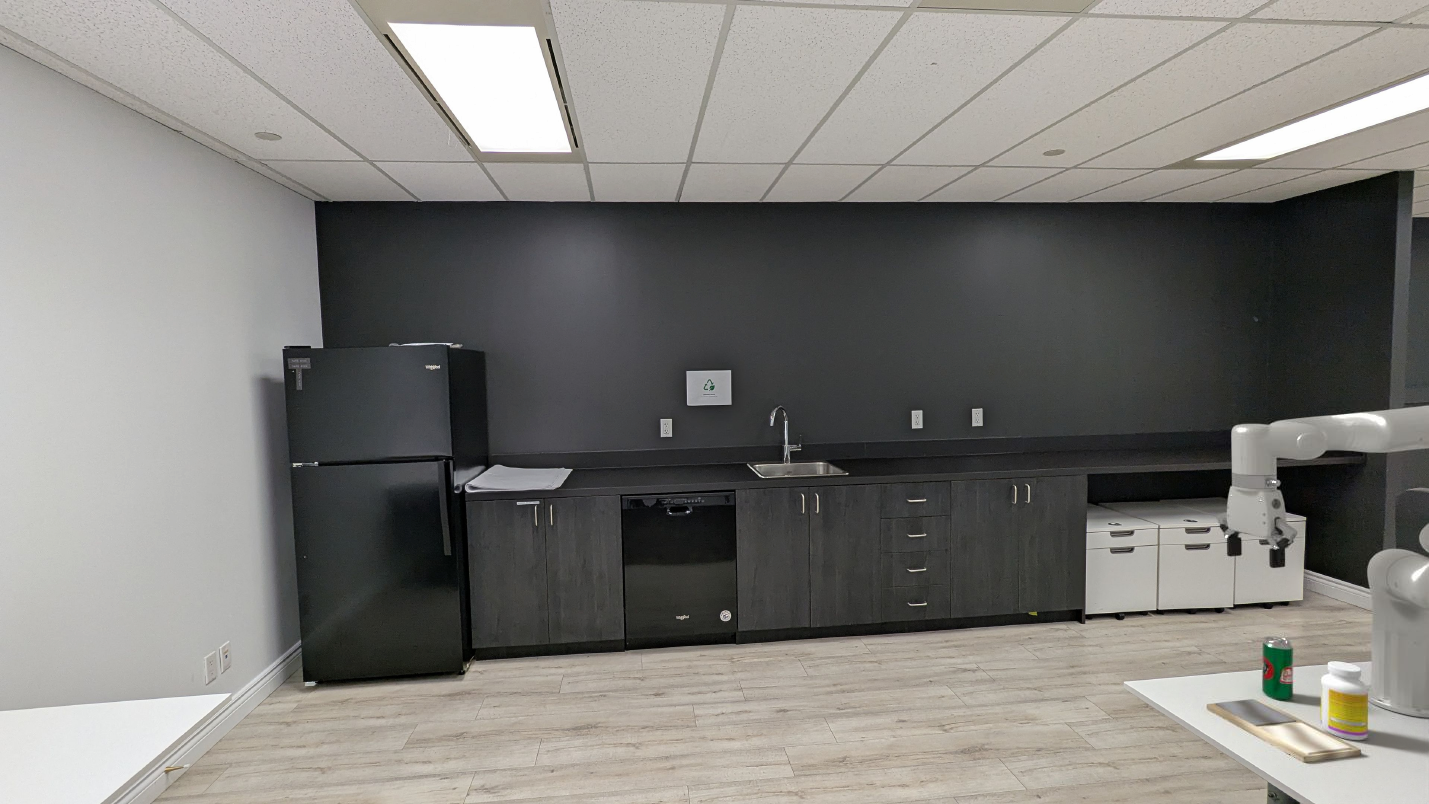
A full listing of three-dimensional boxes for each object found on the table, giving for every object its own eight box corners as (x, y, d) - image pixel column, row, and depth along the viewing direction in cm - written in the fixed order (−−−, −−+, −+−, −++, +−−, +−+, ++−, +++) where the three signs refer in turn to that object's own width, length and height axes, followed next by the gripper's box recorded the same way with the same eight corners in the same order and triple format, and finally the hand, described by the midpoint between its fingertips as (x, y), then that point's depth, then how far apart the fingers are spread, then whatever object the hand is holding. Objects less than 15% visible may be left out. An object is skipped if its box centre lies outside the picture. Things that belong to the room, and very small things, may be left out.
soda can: (1286, 703, 144) (1286, 646, 143) (1257, 694, 148) (1257, 638, 148) (1297, 697, 146) (1297, 641, 146) (1268, 688, 150) (1269, 633, 150)
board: (1257, 703, 144) (1257, 697, 144) (1360, 755, 124) (1361, 747, 124) (1206, 708, 142) (1206, 702, 142) (1303, 762, 122) (1303, 755, 122)
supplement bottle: (1376, 743, 128) (1377, 674, 127) (1335, 740, 129) (1336, 672, 129) (1351, 725, 135) (1352, 660, 134) (1312, 722, 136) (1312, 657, 135)
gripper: (1310, 486, 140) (1311, 570, 141) (1231, 475, 157) (1233, 550, 158) (1279, 489, 139) (1280, 573, 140) (1203, 477, 156) (1204, 553, 157)
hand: (1255, 561), depth 149 cm, fingers open, 9 cm apart
